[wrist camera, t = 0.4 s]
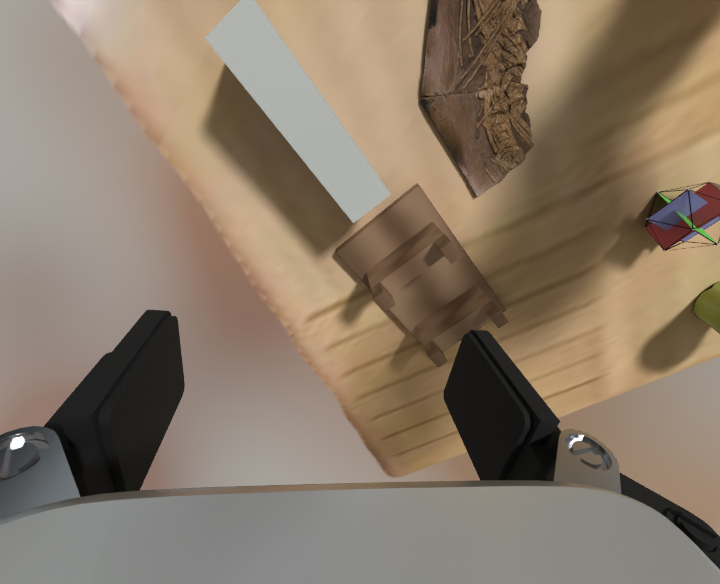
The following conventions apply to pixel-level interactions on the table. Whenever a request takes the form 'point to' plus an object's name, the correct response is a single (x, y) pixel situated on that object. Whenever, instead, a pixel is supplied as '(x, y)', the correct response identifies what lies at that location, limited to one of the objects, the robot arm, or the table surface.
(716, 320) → the plant pot
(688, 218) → the geometric puzzle
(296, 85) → the clay bar
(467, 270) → the wooden display stand
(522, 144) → the wooden fragment
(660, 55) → the table surface
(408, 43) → the table surface
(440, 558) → the robot arm
